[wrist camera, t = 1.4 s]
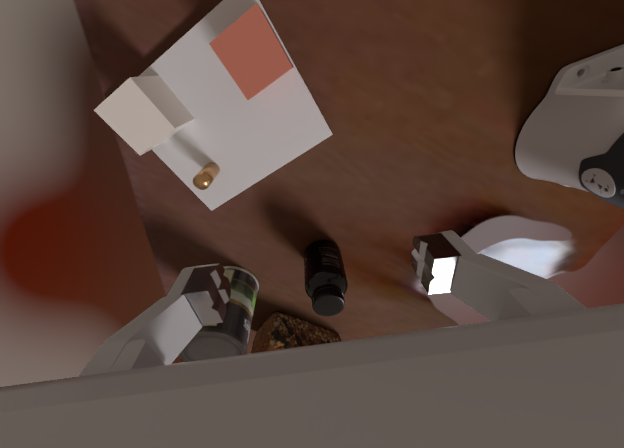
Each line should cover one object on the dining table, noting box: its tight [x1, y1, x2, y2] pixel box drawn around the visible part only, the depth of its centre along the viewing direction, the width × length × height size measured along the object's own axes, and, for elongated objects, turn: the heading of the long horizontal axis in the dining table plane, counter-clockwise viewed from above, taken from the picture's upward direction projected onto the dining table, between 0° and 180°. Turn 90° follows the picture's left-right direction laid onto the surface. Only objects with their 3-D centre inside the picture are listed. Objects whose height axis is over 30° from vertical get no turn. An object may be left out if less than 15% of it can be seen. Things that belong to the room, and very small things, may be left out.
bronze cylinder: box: [193, 162, 220, 190], centre depth 33 cm, size 2×2×5 cm
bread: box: [251, 312, 341, 353], centre depth 55 cm, size 19×11×10 cm, turn 55°
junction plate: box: [138, 0, 333, 211], centre depth 33 cm, size 22×18×1 cm
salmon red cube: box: [209, 3, 293, 100], centre depth 26 cm, size 6×6×6 cm
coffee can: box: [179, 266, 259, 362], centre depth 43 cm, size 10×10×14 cm
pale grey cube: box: [94, 75, 195, 155], centre depth 29 cm, size 6×6×6 cm
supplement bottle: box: [304, 240, 347, 316], centre depth 41 cm, size 7×7×12 cm
